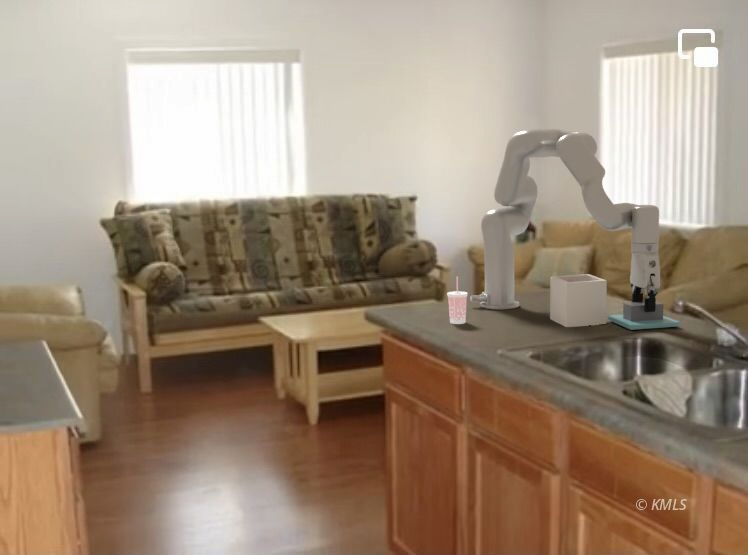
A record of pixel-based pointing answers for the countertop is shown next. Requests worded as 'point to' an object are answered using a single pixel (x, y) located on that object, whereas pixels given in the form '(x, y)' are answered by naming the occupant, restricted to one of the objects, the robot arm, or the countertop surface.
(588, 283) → the off-white crate
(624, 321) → the teal lid
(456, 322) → the beverage cup
